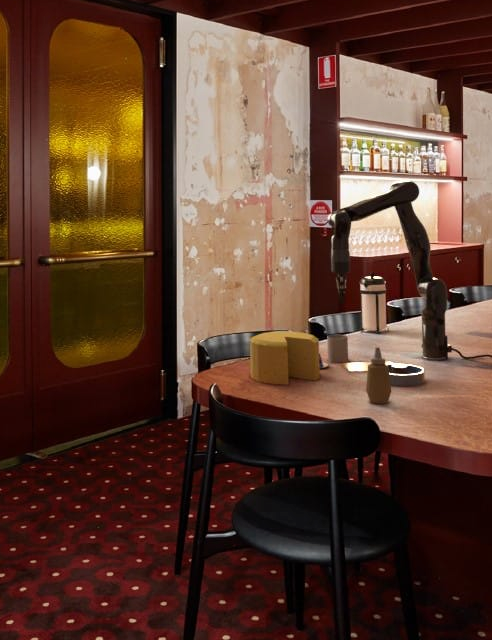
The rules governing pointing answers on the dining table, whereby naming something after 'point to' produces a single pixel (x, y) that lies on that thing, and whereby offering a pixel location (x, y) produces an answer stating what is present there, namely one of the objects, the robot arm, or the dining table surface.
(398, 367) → the mushroom
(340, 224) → the robot arm
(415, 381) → the bowl
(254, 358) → the cheese
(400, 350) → the dining table surface
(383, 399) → the squeeze bottle
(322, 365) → the pudding
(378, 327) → the coffee press
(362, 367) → the board
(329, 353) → the cup
